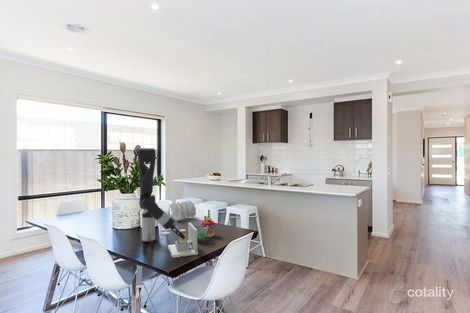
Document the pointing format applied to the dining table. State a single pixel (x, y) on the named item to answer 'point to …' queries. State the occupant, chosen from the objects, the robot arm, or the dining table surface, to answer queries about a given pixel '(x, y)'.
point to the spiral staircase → (183, 210)
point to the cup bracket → (188, 248)
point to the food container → (202, 234)
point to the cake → (210, 225)
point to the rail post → (180, 240)
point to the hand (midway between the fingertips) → (183, 236)
